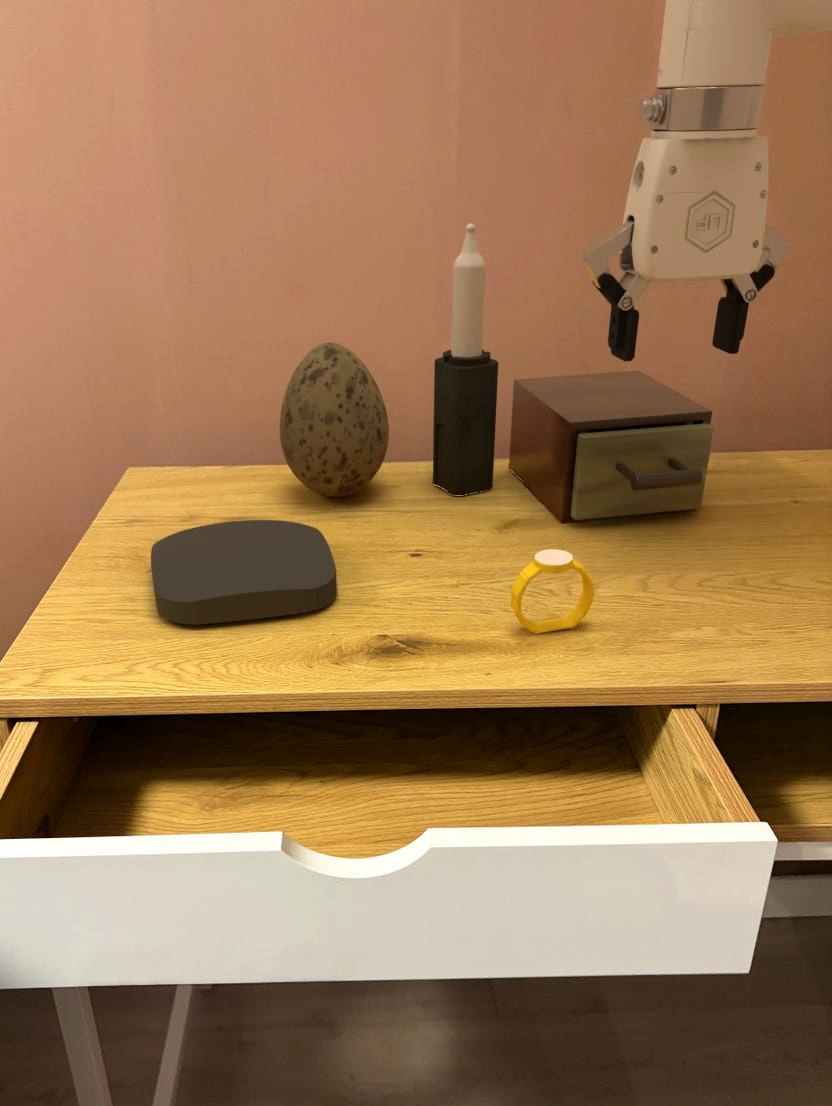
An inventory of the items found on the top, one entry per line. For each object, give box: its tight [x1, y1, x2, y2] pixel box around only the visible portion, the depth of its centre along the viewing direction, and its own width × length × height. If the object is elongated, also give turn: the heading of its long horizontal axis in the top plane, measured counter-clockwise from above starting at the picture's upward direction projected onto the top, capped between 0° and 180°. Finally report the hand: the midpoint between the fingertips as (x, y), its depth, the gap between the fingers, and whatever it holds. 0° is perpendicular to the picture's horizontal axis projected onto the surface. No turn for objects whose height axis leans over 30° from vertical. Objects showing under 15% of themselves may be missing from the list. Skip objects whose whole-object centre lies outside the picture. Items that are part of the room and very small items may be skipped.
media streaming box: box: [150, 519, 338, 626], centre depth 80 cm, size 15×15×3 cm
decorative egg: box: [279, 342, 390, 497], centre depth 95 cm, size 11×11×15 cm
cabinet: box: [508, 370, 713, 524], centre depth 96 cm, size 16×14×10 cm
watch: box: [510, 548, 595, 635], centre depth 72 cm, size 6×3×6 cm, turn 101°
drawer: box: [571, 421, 715, 520], centre depth 92 cm, size 19×12×8 cm, turn 10°
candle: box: [432, 223, 499, 495], centre depth 94 cm, size 5×5×25 cm
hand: (673, 353), depth 80 cm, fingers open, 8 cm apart
